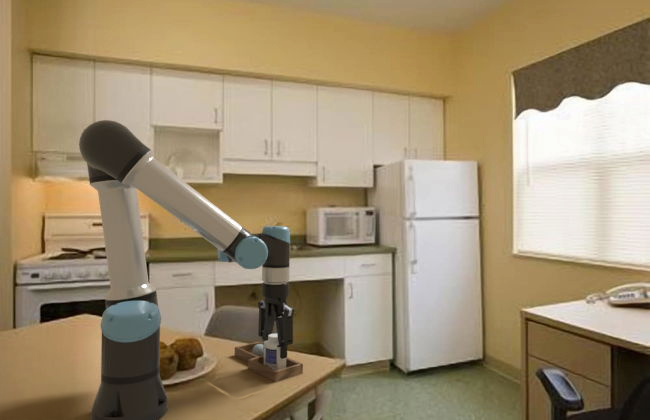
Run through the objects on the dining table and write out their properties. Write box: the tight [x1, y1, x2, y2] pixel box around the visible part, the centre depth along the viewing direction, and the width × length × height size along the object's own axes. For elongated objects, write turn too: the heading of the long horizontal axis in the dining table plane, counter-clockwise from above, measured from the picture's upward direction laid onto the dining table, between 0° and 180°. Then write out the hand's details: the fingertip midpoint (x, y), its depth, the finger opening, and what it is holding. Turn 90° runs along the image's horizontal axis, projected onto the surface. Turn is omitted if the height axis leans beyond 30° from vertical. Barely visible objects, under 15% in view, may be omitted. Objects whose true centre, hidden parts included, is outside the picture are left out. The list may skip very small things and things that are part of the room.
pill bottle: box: [266, 332, 279, 370], centre depth 120 cm, size 5×5×9 cm
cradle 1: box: [234, 341, 264, 364], centre depth 130 cm, size 9×13×3 cm
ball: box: [253, 344, 264, 357], centre depth 130 cm, size 4×4×4 cm
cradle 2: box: [247, 356, 304, 383], centre depth 120 cm, size 9×13×3 cm
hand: (274, 366), depth 120 cm, fingers closed on pill bottle, 5 cm apart
